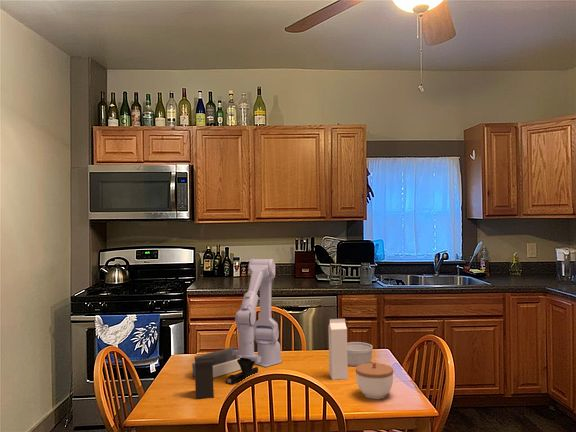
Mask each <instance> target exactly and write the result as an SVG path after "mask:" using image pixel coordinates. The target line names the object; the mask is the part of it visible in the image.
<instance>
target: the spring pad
mask: <svg viewBox="0 0 576 432" xmlns="http://www.w3.org/2000/svg"><path fill="white" fill-rule="evenodd" d="M238 359H240V358H236V359H235V360H232V361H228V362H225V363H221V364H217V365H214V366H213V379H214V378H217V377H221V376H223V375H227V374H230V373H234V372H237V371H242V370H241V367H240V365H239V363H238V362H237V360H238Z"/></svg>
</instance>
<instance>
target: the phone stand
mask: <svg viewBox="0 0 576 432" xmlns="http://www.w3.org/2000/svg"><path fill="white" fill-rule="evenodd" d="M194 362H195V379H194V380H195V384H194V386H195V400H202V399H203V400H204V399H213V398H215V397H214V394H215V392H214V378H213V360H212V359H201V360H195V359H194Z"/></svg>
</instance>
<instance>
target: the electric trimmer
mask: <svg viewBox="0 0 576 432" xmlns="http://www.w3.org/2000/svg"><path fill="white" fill-rule="evenodd" d="M257 372H258V373H259V367H258V366H255V367H253V368H252V371H251V375H252V374H255V373H257ZM258 373H257V374H258ZM255 375H256V374H255ZM242 380H245V379H244V377H243V374H242V371H240V372H238V373H235V374H230V375H228V377H227V378H226V380H225V384H227V385H230V386H232V385H233V386H234V385H235V383H238V382H239V381H242Z"/></svg>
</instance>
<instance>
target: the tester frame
mask: <svg viewBox="0 0 576 432" xmlns="http://www.w3.org/2000/svg"><path fill="white" fill-rule="evenodd" d="M233 350H237V347H234V346H231V347H228V348H224V349H220V350H215V351H212V352H208V353H205V354H201V355H196V356H194V361H192V362H191V363H192V365H191V366H192V378H195V360H201V359H212V360H213V366H214V365H217V364H221V363H225V362H228V361H232V360H235V359H237V356H233V355H232V351H233Z"/></svg>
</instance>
